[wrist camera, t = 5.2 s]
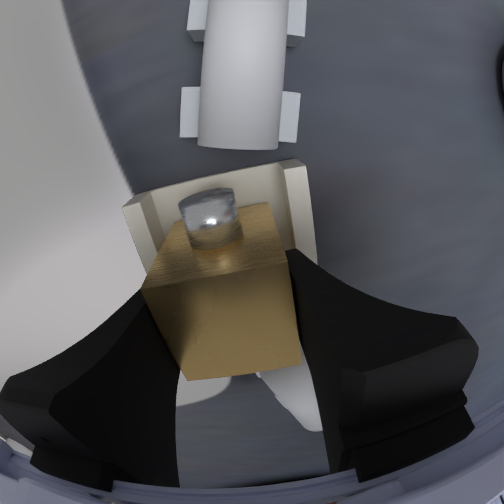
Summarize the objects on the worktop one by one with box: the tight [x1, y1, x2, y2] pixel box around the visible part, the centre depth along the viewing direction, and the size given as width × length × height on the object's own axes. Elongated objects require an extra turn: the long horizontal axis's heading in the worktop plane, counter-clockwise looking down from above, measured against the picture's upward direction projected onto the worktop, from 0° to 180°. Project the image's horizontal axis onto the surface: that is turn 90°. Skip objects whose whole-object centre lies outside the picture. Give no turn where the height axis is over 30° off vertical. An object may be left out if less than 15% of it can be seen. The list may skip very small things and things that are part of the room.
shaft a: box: [256, 341, 323, 431], centre depth 15 cm, size 6×4×4 cm, turn 26°
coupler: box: [140, 188, 302, 381], centre depth 10 cm, size 7×4×5 cm, turn 11°
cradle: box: [122, 158, 318, 274], centre depth 12 cm, size 7×7×2 cm
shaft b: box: [180, 0, 307, 150], centre depth 8 cm, size 6×4×4 cm, turn 176°
